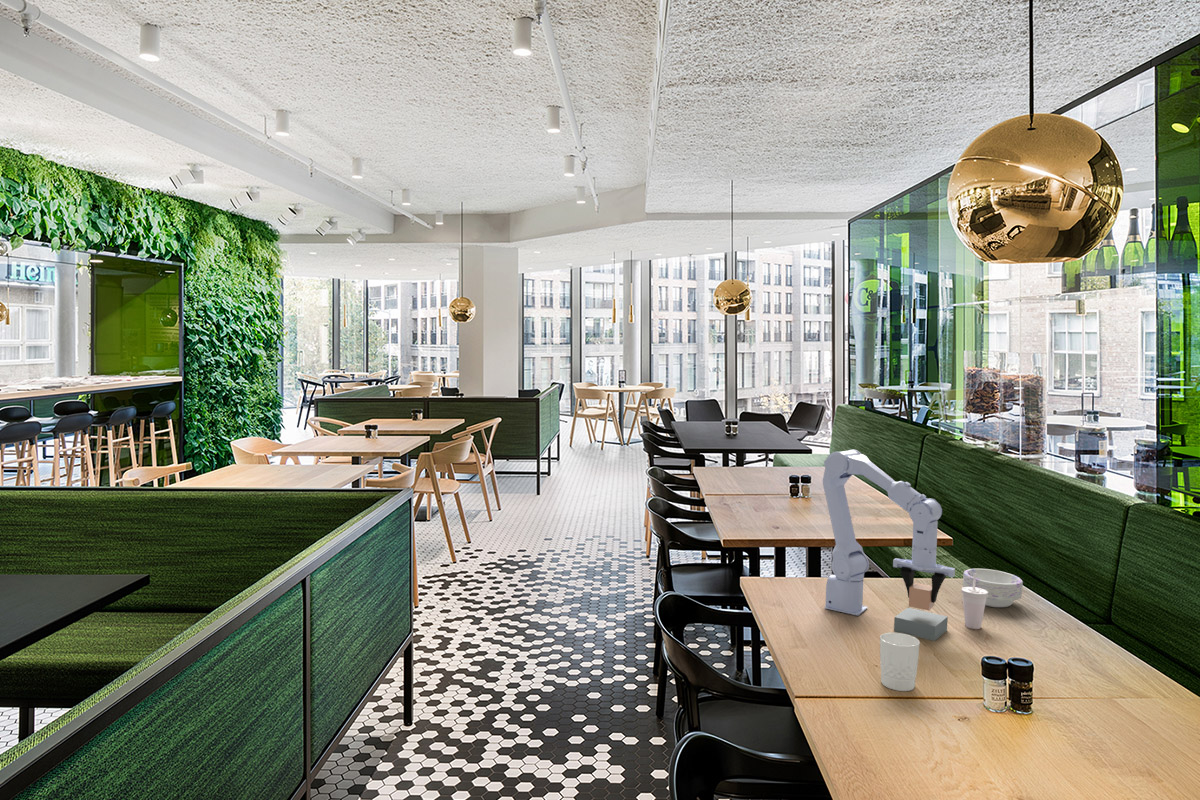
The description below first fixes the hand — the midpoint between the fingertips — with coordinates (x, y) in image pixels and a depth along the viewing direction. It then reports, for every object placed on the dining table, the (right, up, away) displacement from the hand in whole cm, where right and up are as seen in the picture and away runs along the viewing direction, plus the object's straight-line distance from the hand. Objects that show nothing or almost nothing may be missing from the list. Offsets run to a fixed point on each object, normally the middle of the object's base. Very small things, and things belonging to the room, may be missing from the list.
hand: (921, 599), depth 195 cm
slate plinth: (0, -9, +1) cm, 9 cm away
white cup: (-19, -10, -32) cm, 38 cm away
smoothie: (+15, -8, +4) cm, 18 cm away
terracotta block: (0, -2, 0) cm, 2 cm away
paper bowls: (+30, -7, +24) cm, 39 cm away
